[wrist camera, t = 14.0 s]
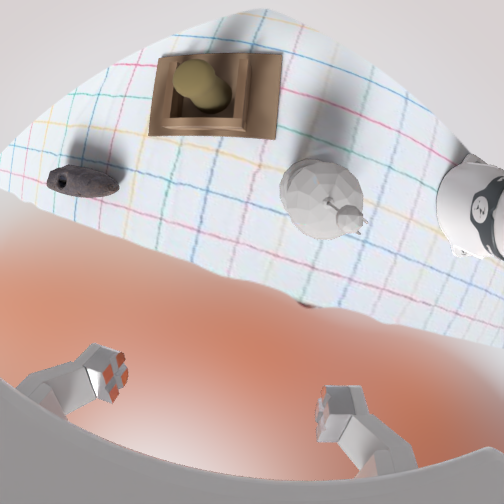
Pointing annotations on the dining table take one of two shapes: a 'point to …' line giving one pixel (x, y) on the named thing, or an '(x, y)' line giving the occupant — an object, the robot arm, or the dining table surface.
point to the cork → (202, 86)
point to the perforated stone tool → (81, 182)
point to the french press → (322, 199)
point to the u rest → (241, 105)
